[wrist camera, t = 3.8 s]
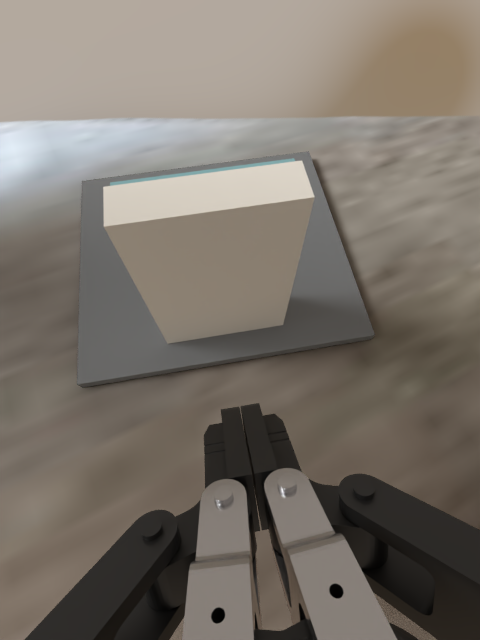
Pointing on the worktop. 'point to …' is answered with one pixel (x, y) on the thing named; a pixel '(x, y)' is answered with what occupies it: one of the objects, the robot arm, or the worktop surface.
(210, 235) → the tile
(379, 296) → the worktop surface
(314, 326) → the mat
